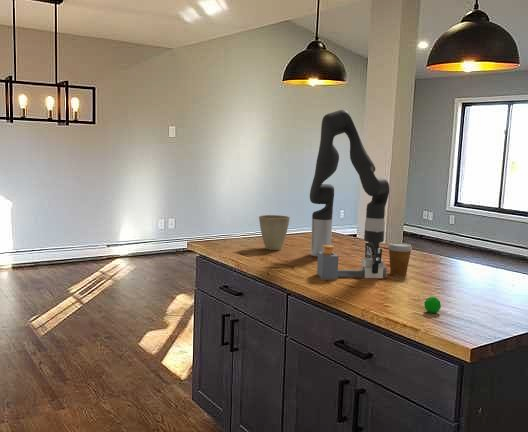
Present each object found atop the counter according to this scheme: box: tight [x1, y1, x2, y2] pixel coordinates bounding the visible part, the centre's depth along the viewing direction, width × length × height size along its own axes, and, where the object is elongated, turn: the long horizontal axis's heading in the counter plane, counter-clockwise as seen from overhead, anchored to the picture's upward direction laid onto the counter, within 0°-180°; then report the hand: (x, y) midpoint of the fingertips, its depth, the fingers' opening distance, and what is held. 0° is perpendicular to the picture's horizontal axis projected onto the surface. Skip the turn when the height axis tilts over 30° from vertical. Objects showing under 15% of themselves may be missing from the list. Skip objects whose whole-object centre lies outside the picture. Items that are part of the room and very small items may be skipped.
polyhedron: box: [423, 296, 442, 314], centre depth 175 cm, size 5×5×5 cm
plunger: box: [323, 244, 335, 255], centre depth 219 cm, size 4×4×5 cm
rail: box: [338, 265, 387, 279], centre depth 221 cm, size 3×20×4 cm, turn 97°
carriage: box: [361, 257, 385, 279], centre depth 222 cm, size 5×7×7 cm
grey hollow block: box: [316, 251, 339, 280], centre depth 219 cm, size 9×6×9 cm, turn 7°
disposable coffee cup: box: [387, 242, 413, 276], centre depth 229 cm, size 10×10×12 cm
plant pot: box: [258, 214, 291, 251], centre depth 275 cm, size 15×15×16 cm
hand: (372, 271), depth 222 cm, fingers open, 6 cm apart
